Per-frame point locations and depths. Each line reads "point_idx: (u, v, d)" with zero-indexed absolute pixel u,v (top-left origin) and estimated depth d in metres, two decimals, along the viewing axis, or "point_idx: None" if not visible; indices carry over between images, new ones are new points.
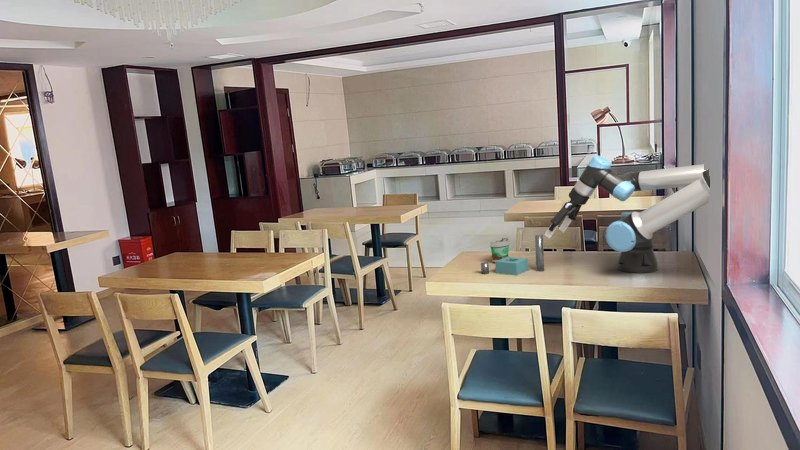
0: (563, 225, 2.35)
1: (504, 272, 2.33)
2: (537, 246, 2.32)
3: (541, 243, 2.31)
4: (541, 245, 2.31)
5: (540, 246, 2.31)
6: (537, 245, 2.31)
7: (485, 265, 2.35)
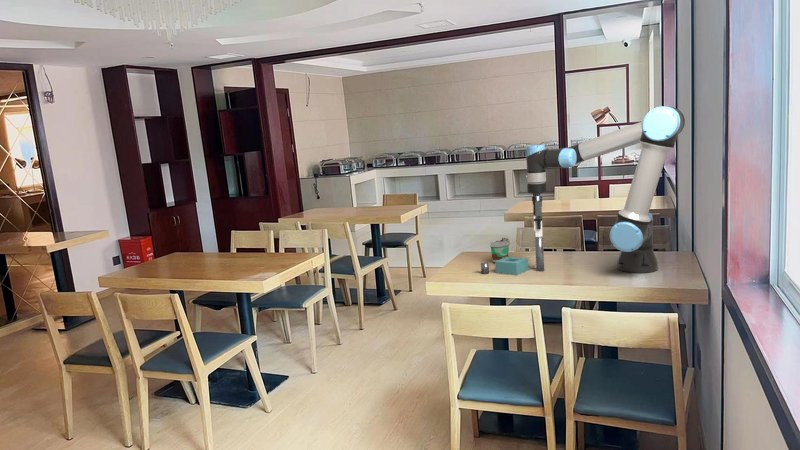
0: None
1: (504, 272, 2.33)
2: (537, 246, 2.32)
3: (541, 243, 2.31)
4: (541, 245, 2.31)
5: (540, 246, 2.31)
6: (538, 245, 2.31)
7: (485, 265, 2.35)
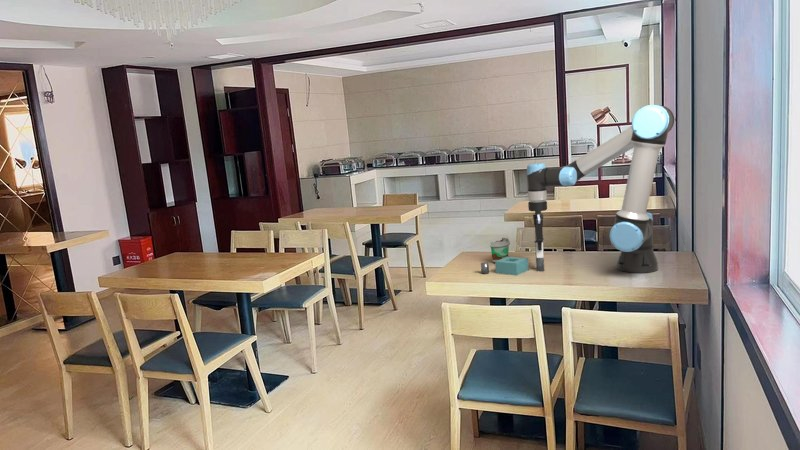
0: None
1: (504, 272, 2.33)
2: None
3: None
4: None
5: None
6: None
7: (485, 265, 2.35)
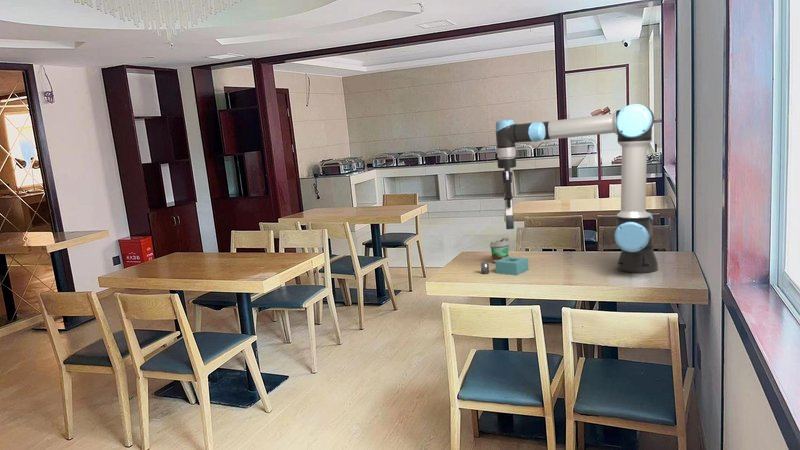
0: None
1: (504, 272, 2.33)
2: None
3: None
4: None
5: None
6: None
7: (485, 265, 2.35)
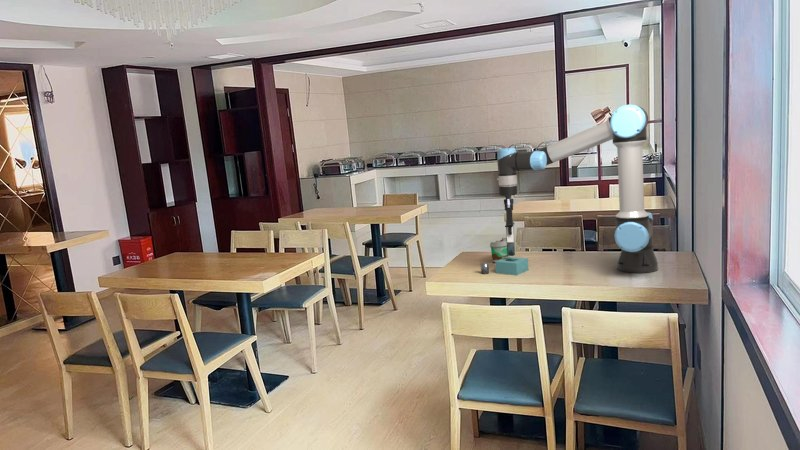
0: None
1: (504, 272, 2.33)
2: None
3: None
4: None
5: None
6: None
7: (485, 265, 2.35)
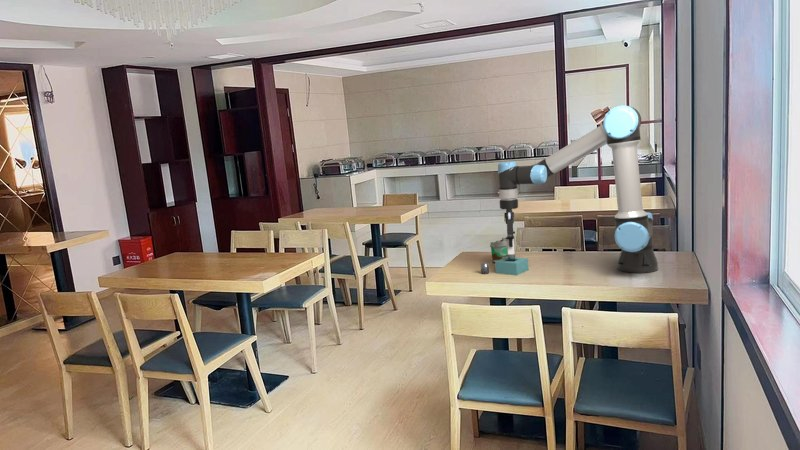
0: None
1: (504, 272, 2.33)
2: None
3: None
4: None
5: None
6: None
7: (485, 265, 2.35)
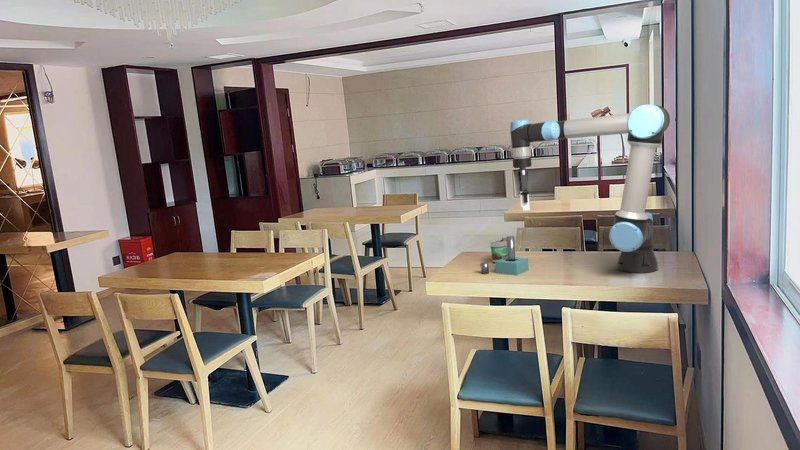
0: None
1: (504, 272, 2.33)
2: (508, 247, 2.34)
3: (512, 244, 2.33)
4: (512, 246, 2.33)
5: (511, 247, 2.33)
6: (509, 246, 2.34)
7: (485, 265, 2.35)
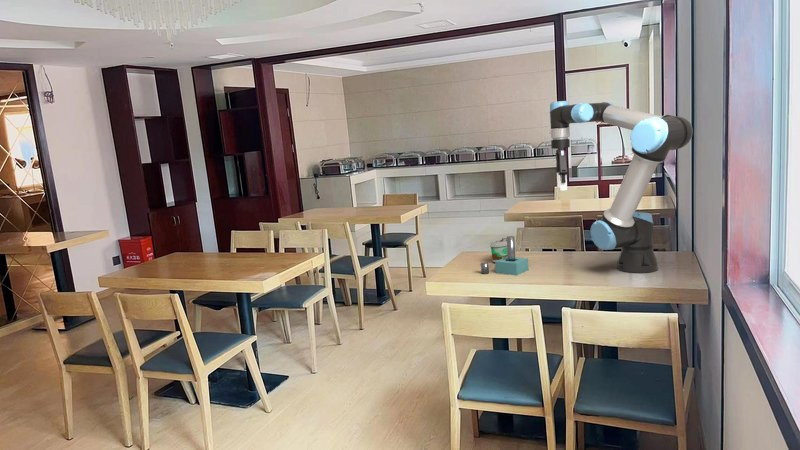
0: (559, 181, 2.44)
1: (504, 272, 2.33)
2: (509, 247, 2.34)
3: (512, 244, 2.33)
4: (512, 246, 2.33)
5: (511, 247, 2.33)
6: (509, 246, 2.34)
7: (485, 265, 2.35)
